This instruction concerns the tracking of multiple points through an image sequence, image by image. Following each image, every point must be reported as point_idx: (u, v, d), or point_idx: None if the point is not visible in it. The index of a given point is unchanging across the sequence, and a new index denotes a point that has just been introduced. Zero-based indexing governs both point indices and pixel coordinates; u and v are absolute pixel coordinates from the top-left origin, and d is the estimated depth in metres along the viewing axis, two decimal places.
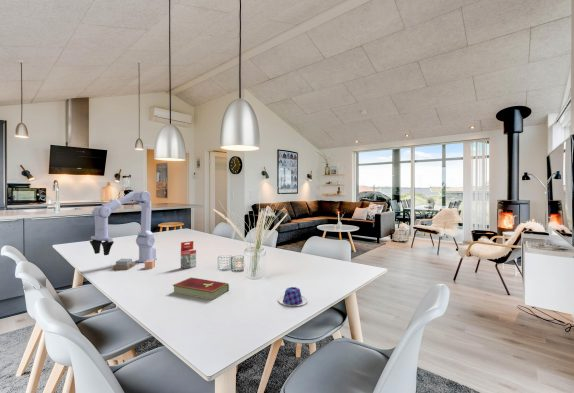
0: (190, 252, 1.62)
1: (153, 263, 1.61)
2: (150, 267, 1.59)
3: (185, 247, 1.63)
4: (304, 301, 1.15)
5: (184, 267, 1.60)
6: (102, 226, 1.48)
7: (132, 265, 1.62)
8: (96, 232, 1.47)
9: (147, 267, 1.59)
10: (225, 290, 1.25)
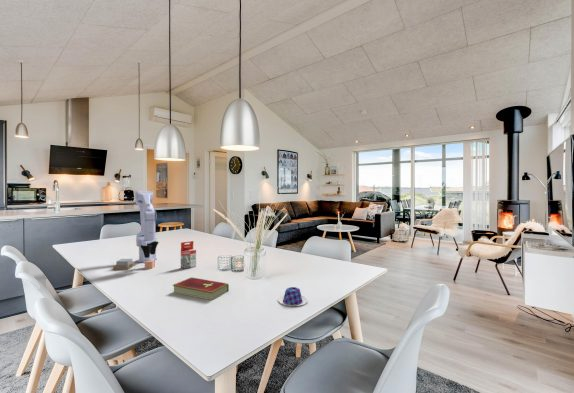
0: (190, 252, 1.62)
1: (153, 263, 1.61)
2: (150, 267, 1.59)
3: (185, 247, 1.63)
4: (304, 301, 1.15)
5: (184, 267, 1.60)
6: None
7: (132, 265, 1.62)
8: None
9: (147, 267, 1.59)
10: (225, 290, 1.25)
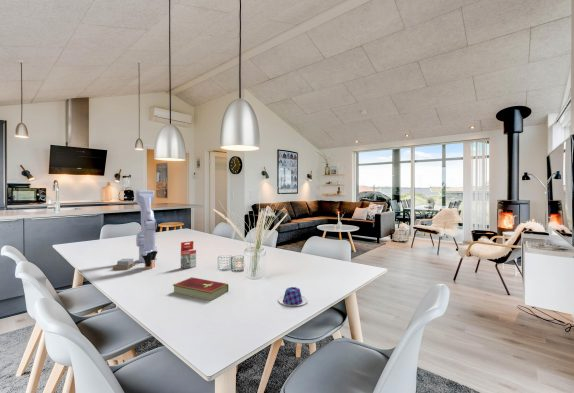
0: (190, 252, 1.62)
1: (153, 263, 1.61)
2: (150, 267, 1.59)
3: (185, 247, 1.63)
4: (304, 301, 1.15)
5: (184, 267, 1.60)
6: None
7: (132, 265, 1.62)
8: None
9: (147, 267, 1.59)
10: (225, 291, 1.24)
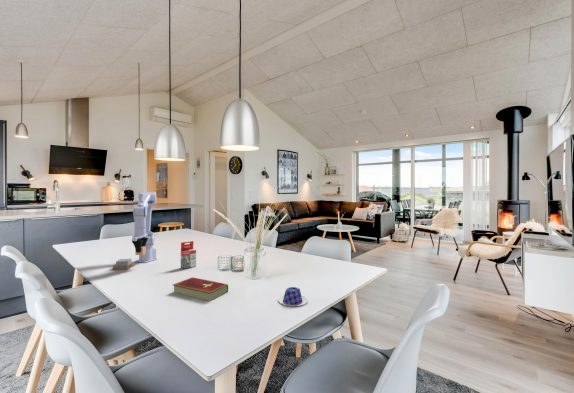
0: (190, 252, 1.62)
1: (144, 249, 1.61)
2: (141, 253, 1.59)
3: (185, 247, 1.63)
4: (304, 301, 1.15)
5: (184, 267, 1.60)
6: (144, 225, 1.60)
7: (132, 265, 1.62)
8: None
9: (138, 253, 1.59)
10: (224, 291, 1.24)
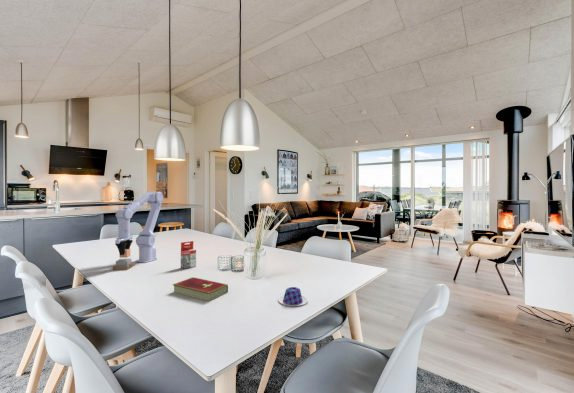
0: (190, 252, 1.62)
1: (128, 252, 1.60)
2: (125, 256, 1.59)
3: (185, 247, 1.63)
4: (304, 301, 1.15)
5: (184, 267, 1.60)
6: (125, 227, 1.58)
7: (132, 265, 1.62)
8: None
9: (122, 256, 1.58)
10: (224, 291, 1.24)
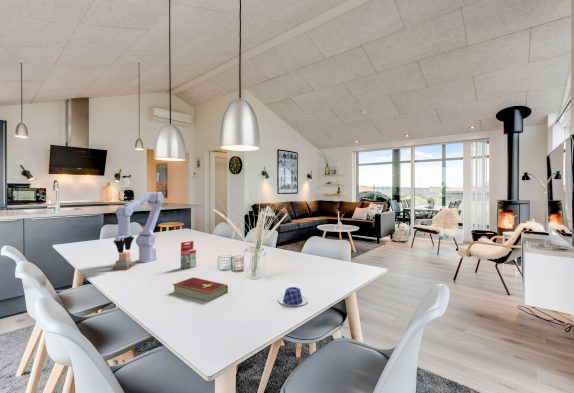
0: (190, 252, 1.62)
1: (128, 255, 1.61)
2: (124, 259, 1.59)
3: (185, 247, 1.63)
4: (304, 301, 1.15)
5: (184, 267, 1.60)
6: (125, 225, 1.58)
7: (132, 265, 1.62)
8: None
9: (121, 259, 1.59)
10: (224, 291, 1.23)
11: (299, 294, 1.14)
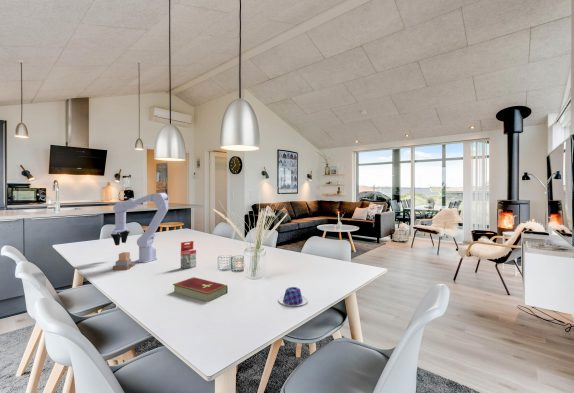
0: (190, 252, 1.62)
1: (127, 255, 1.60)
2: (124, 259, 1.59)
3: (185, 247, 1.63)
4: (304, 301, 1.15)
5: (184, 267, 1.60)
6: (116, 220, 1.73)
7: (132, 265, 1.62)
8: None
9: (121, 259, 1.59)
10: (223, 292, 1.23)
11: (299, 294, 1.14)
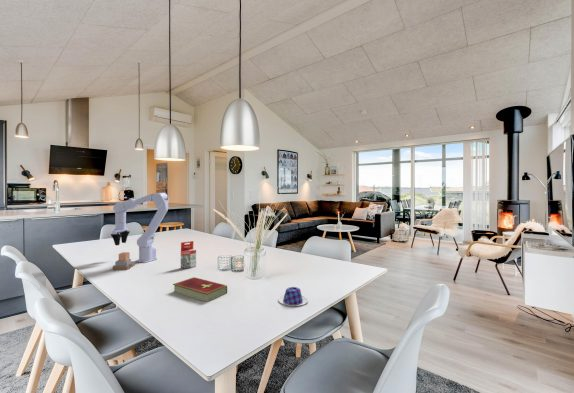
0: (190, 252, 1.62)
1: (127, 255, 1.61)
2: (124, 259, 1.59)
3: (185, 247, 1.63)
4: (304, 301, 1.15)
5: (184, 267, 1.60)
6: (116, 220, 1.73)
7: (132, 265, 1.62)
8: None
9: (121, 259, 1.59)
10: (223, 292, 1.23)
11: (299, 294, 1.14)
